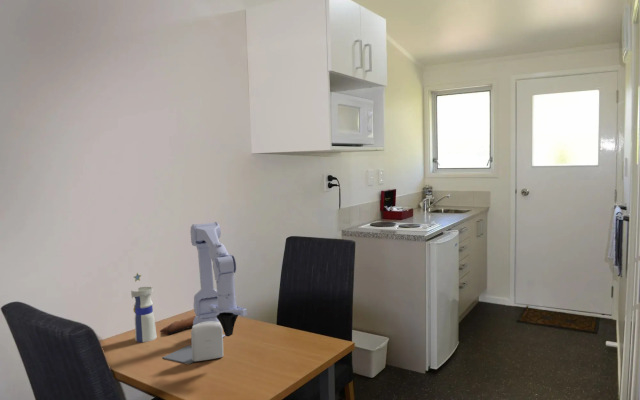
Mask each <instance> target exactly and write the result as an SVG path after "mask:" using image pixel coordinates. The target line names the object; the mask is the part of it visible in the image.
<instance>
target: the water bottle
mask: <svg viewBox="0 0 640 400" xmlns="http://www.w3.org/2000/svg"><path fill="white" fill-rule="evenodd" d="M141 277H142V274H139V273H138V272H136V274H135V275H134V276H133V278H134V282H137V281H141V279H140V278H141ZM137 290H138V291H133V290H131V291H130V292H131V293H130V295H131V298H132V299H133V298H134V301H135V302H134V304H133V313H134V330H135V332H134V336H135V337H134V338H135V342H136V341H137V342H138V343H146V342H151V341H154V340H156V339H157V338H158V336H157V328H156V319H155V318H156V317H155V313H154V311H153V305H154V302H153V301H152V294H153V293H154V292H155V290H154V288H153V287H151V286H140V287H138V288H137Z"/></svg>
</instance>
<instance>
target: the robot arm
mask: <svg viewBox="0 0 640 400" xmlns="http://www.w3.org/2000/svg"><path fill="white" fill-rule="evenodd" d="M220 238H221V225H220V224H219V222H217V221H214V222H207V223H198V224H191V226H190V242H191V245H192V246H194V247H196V250H197V258H198V269H199V281H200V282H199V283H200V290H198V292H196V293H195V294H194V296H193V310H194V311H193V312H194V314H195V315H194V316H195V318H194V321H193V326H194V325H196V324H198V323H202V322H208V321H215V322H220V323H221V326H222V328H223V338H224V337H230V336H232V335H234V334H233V333H234V328H235V324H236V321H237V319H238V317H239V316H240V317H245V316H247V315H248V309H247V308H245V307H241V306H238V305H237V299H236V298H237V296H236V286H235V285H236V284H235V274H236V272H237V263H236V258H235V256H234V254H231V253H229V252H228V249H227V248H226V245H224V243H222V242H220V240H219V239H220ZM213 274H214V276H213ZM214 280H215V282H216V288H214V287H215V286H214Z"/></svg>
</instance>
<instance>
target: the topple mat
mask: <svg viewBox="0 0 640 400" xmlns="http://www.w3.org/2000/svg"><path fill="white" fill-rule="evenodd" d="M162 359H164V360H168V361H171V362H177V363H182V364H186V365H191V364H193V363H195V362H196V361H193V360H192V344H191V345H190V344H189V345H186V346H184V347H181V348H180V349H177V350H175V351H173V352H171V353H169V354H166V355H164V356H163V357H162Z"/></svg>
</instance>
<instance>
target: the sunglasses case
mask: <svg viewBox="0 0 640 400" xmlns="http://www.w3.org/2000/svg"><path fill="white" fill-rule="evenodd" d="M195 316H196V315H193V316H190V317H187V318H185V319H180V320H177V321H173V322H172V323H170V324H169V325H167V326H165V327H163V328H162V329H160V333H163V334H165V335H167V336H169V335H172V334H175V333H177V332H180V331H183V330H186V329H190V328H192V326H193V321H194V318H195Z"/></svg>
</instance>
